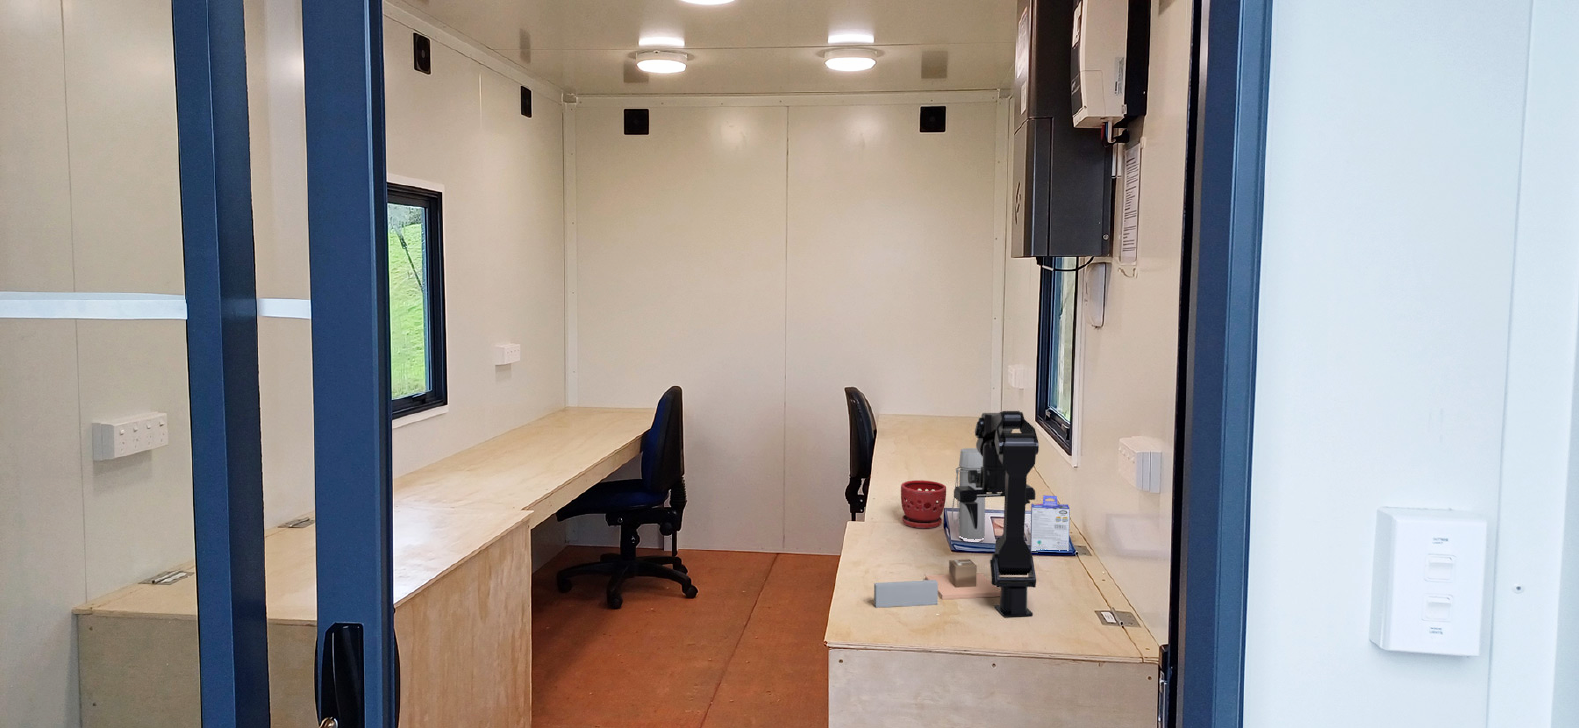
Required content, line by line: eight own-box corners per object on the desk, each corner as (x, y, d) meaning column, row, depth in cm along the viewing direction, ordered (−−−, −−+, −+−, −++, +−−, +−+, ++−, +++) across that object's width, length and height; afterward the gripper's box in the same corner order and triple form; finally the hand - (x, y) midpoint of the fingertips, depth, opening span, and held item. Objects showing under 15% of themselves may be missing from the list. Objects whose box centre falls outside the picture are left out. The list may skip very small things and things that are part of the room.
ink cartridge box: (1068, 548, 256) (1069, 495, 255) (1069, 554, 251) (1071, 500, 249) (1029, 546, 258) (1030, 493, 257) (1030, 552, 253) (1031, 498, 251)
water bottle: (981, 535, 269) (982, 447, 266) (988, 543, 261) (989, 453, 258) (948, 536, 269) (949, 448, 266) (954, 544, 261) (955, 453, 258)
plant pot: (896, 529, 276) (897, 488, 275) (905, 517, 289) (905, 478, 287) (942, 532, 272) (942, 491, 271) (948, 520, 285) (949, 481, 284)
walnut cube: (976, 586, 223) (976, 564, 223) (955, 587, 223) (955, 565, 222) (969, 579, 228) (969, 558, 228) (949, 580, 227) (949, 559, 227)
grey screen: (937, 604, 214) (937, 582, 214) (876, 607, 212) (876, 585, 212) (934, 601, 216) (935, 579, 216) (874, 604, 214) (874, 582, 214)
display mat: (1001, 596, 219) (1001, 591, 219) (942, 599, 218) (942, 595, 217) (981, 576, 233) (981, 572, 233) (925, 579, 231) (925, 575, 231)
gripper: (1019, 456, 240) (1018, 517, 242) (947, 459, 238) (946, 520, 239) (1036, 465, 229) (1035, 529, 231) (961, 468, 227) (960, 533, 228)
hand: (993, 527), depth 232 cm, fingers open, 9 cm apart
